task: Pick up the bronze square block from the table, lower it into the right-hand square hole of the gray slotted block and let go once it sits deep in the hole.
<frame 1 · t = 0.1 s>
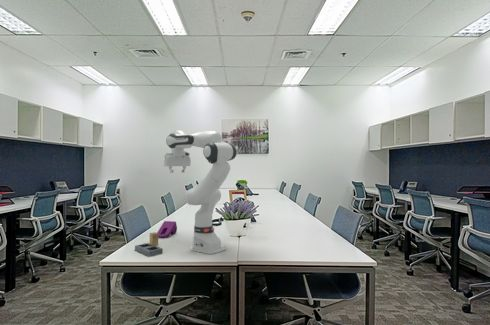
hand: (177, 172, 221), 48 cm above the table, tool pointing down, fingers open, 8 cm apart
ammunition clip: (201, 234, 237), on the table
mounting bracket: (166, 236, 232), on the table
gray slotted block: (148, 251, 189), on the table
bronze block: (153, 245, 205), on the table
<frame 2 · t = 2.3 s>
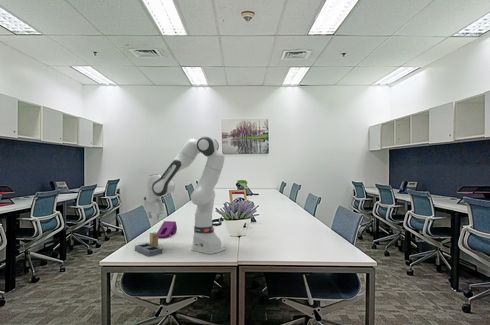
hand: (153, 219, 205), 17 cm above the table, tool pointing down, fingers open, 8 cm apart
nothing on the table moved.
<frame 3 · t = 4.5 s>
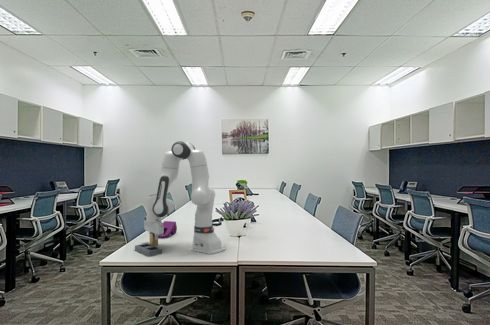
hand: (153, 239, 205), 4 cm above the table, tool pointing down, fingers closed on bronze block, 4 cm apart
bronze block: (153, 245, 205), on the table, touching gripper
everything else where it was.
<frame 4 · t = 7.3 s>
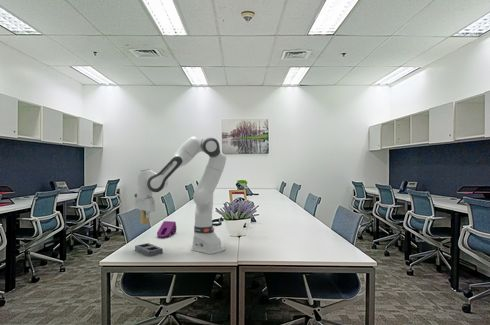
hand: (144, 217, 193), 21 cm above the table, tool pointing down, fingers closed on bronze block, 4 cm apart
bronze block: (144, 223, 193), point 17 cm above the table, touching gripper
everything else where it was.
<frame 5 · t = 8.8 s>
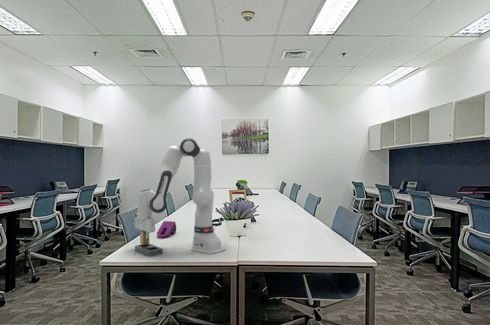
hand: (144, 237, 193), 8 cm above the table, tool pointing down, fingers closed on bronze block, 4 cm apart
bronze block: (144, 243, 193), point 4 cm above the table, touching gripper
everything else where it was.
when the fingers open (5 cm above the table, at t = 10.2 s): bronze block stays where it is, resting in gray slotted block.
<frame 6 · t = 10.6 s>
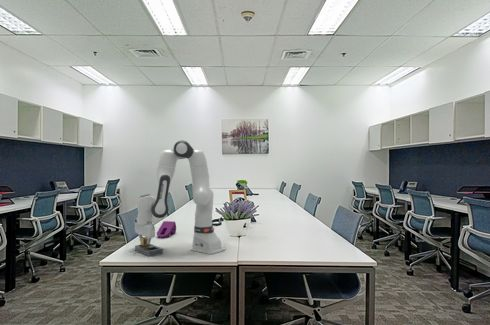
hand: (144, 242, 193), 5 cm above the table, tool pointing down, fingers open, 8 cm apart
bronze block: (144, 250, 193), resting in gray slotted block
everything else where it was.
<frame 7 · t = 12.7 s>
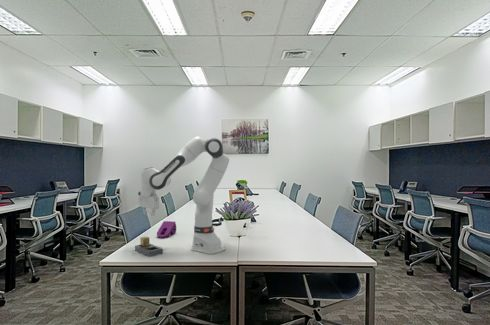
hand: (149, 214, 196), 22 cm above the table, tool pointing down, fingers open, 8 cm apart
nothing on the table moved.
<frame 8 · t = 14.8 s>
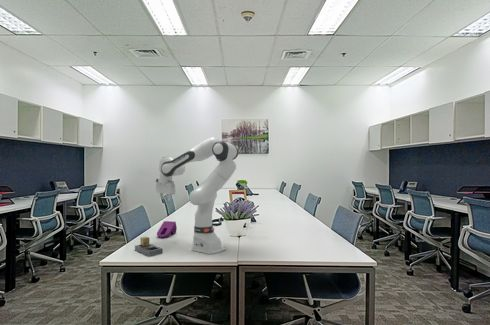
hand: (165, 199, 213), 29 cm above the table, tool pointing down, fingers open, 8 cm apart
nothing on the table moved.
at the end: bronze block 0.1 cm from the target spot on the gray slotted block, point 0.0 cm above the gray slotted block's base; bronze block tilted 0°; the gripper is holding nothing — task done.
